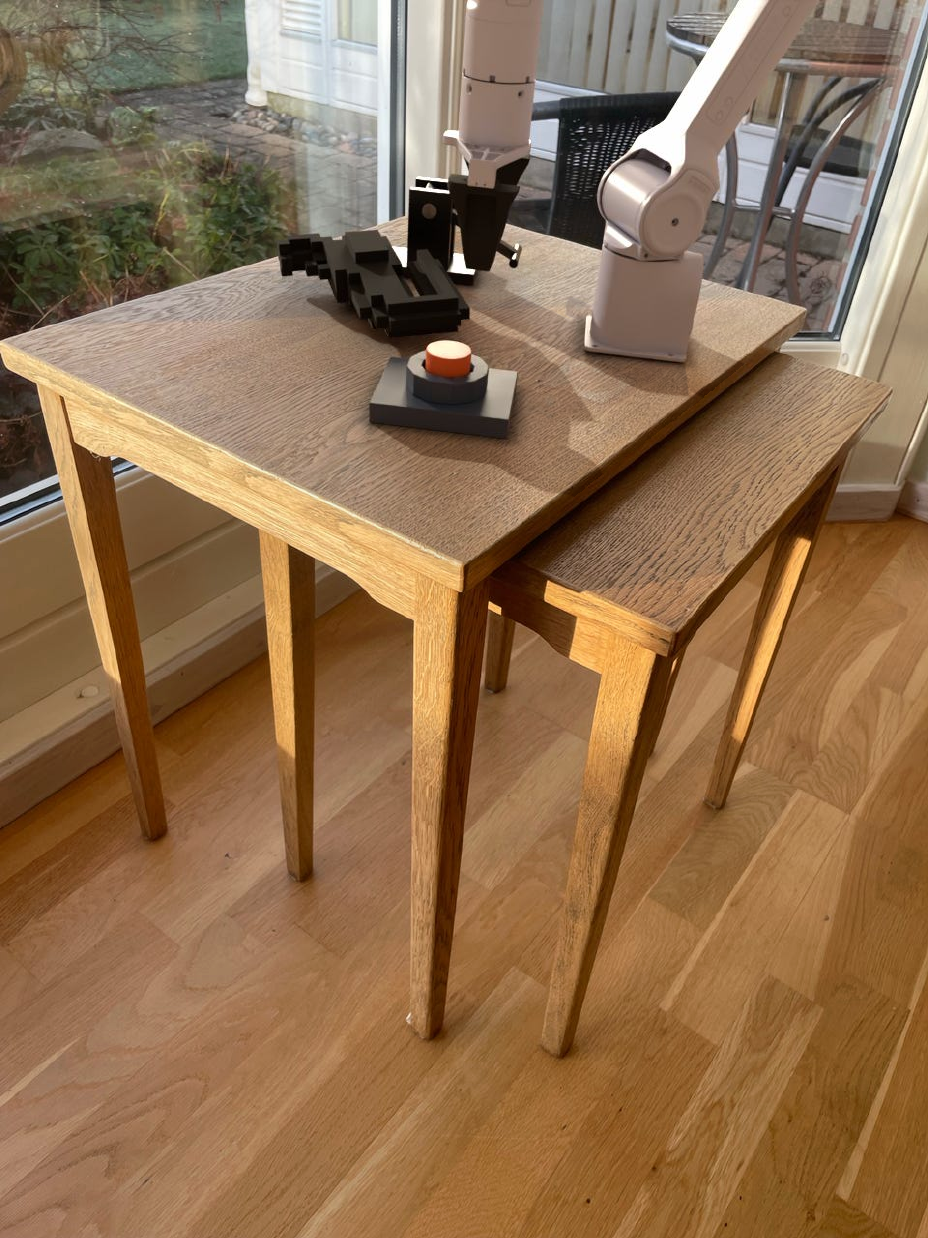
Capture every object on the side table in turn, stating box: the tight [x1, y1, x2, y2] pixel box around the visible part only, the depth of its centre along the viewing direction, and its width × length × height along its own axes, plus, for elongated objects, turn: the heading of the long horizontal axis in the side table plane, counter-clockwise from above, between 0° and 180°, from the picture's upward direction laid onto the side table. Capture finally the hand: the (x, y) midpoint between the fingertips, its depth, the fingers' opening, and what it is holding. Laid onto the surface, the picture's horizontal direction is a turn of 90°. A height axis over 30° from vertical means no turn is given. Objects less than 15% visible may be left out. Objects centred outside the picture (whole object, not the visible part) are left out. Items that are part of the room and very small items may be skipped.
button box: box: [368, 350, 519, 440], centre depth 80 cm, size 11×9×4 cm
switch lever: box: [426, 183, 523, 269], centre depth 103 cm, size 12×5×2 cm, turn 83°
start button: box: [425, 340, 473, 378], centre depth 79 cm, size 4×4×2 cm
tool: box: [276, 229, 471, 339], centre depth 94 cm, size 5×20×15 cm
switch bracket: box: [392, 176, 479, 287], centre depth 103 cm, size 10×6×9 cm, turn 83°
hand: (483, 254), depth 85 cm, fingers open, 7 cm apart
